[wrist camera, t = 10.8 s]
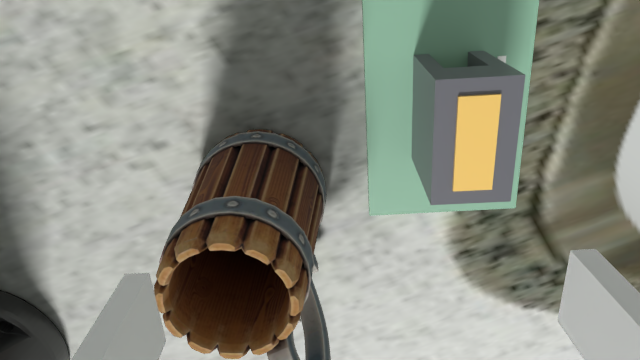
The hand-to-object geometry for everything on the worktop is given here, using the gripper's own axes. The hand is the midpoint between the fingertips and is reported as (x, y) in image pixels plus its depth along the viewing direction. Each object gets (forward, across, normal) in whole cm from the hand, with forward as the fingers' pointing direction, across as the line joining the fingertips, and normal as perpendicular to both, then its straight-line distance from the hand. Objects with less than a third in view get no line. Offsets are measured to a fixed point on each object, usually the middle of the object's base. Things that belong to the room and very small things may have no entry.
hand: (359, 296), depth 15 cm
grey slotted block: (+22, +8, 0) cm, 24 cm away
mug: (+24, -5, -9) cm, 26 cm away
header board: (+23, +8, 0) cm, 24 cm away
